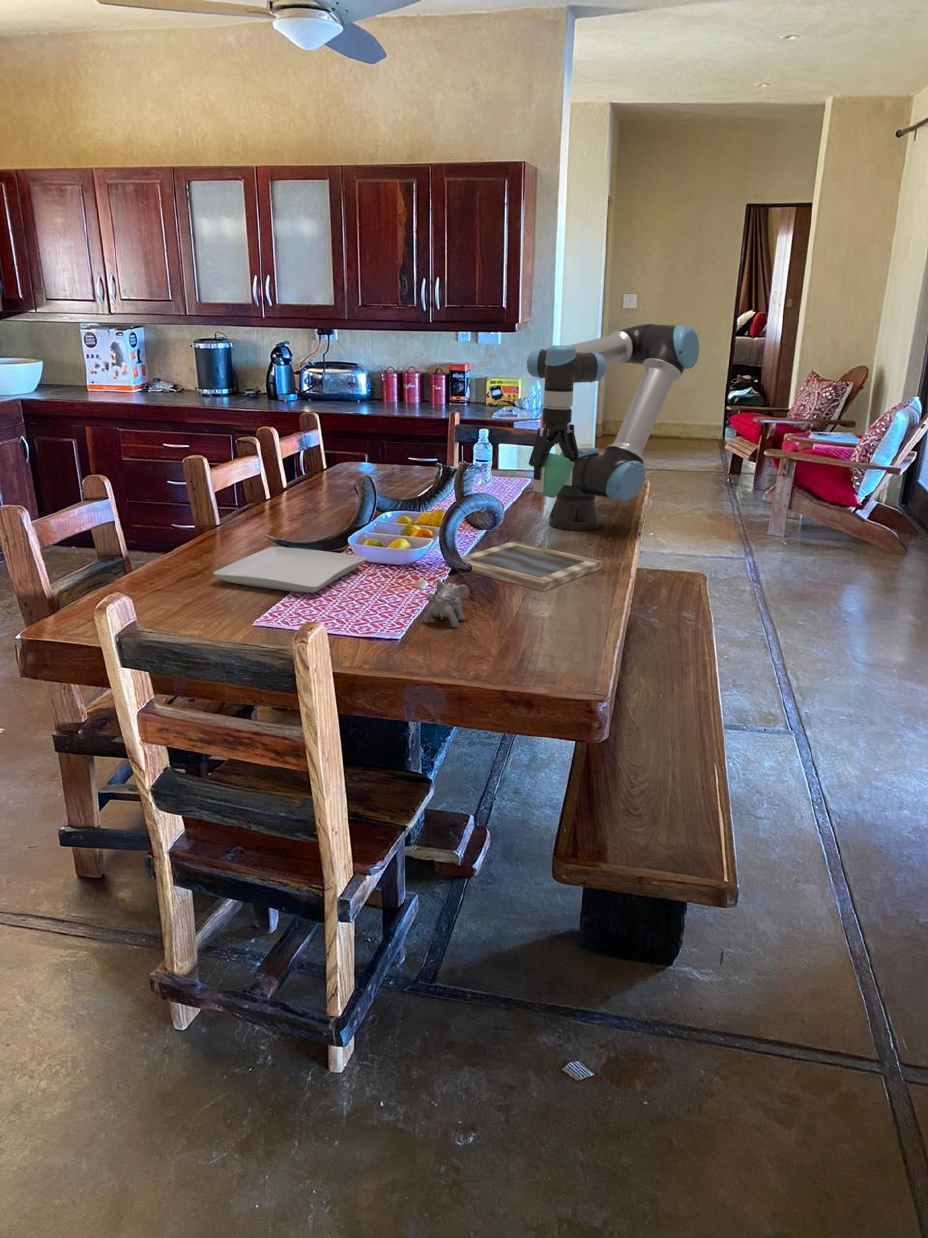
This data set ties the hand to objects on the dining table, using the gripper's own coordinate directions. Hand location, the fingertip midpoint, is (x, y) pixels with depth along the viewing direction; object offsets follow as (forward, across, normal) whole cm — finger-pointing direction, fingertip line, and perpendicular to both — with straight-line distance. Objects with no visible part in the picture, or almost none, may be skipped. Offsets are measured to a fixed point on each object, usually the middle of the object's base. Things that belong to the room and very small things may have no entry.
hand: (552, 488), depth 240 cm
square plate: (+17, +66, -29) cm, 74 cm away
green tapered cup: (+2, +2, 0) cm, 3 cm away
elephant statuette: (+17, +63, +17) cm, 68 cm away
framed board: (+17, +20, +7) cm, 27 cm away
